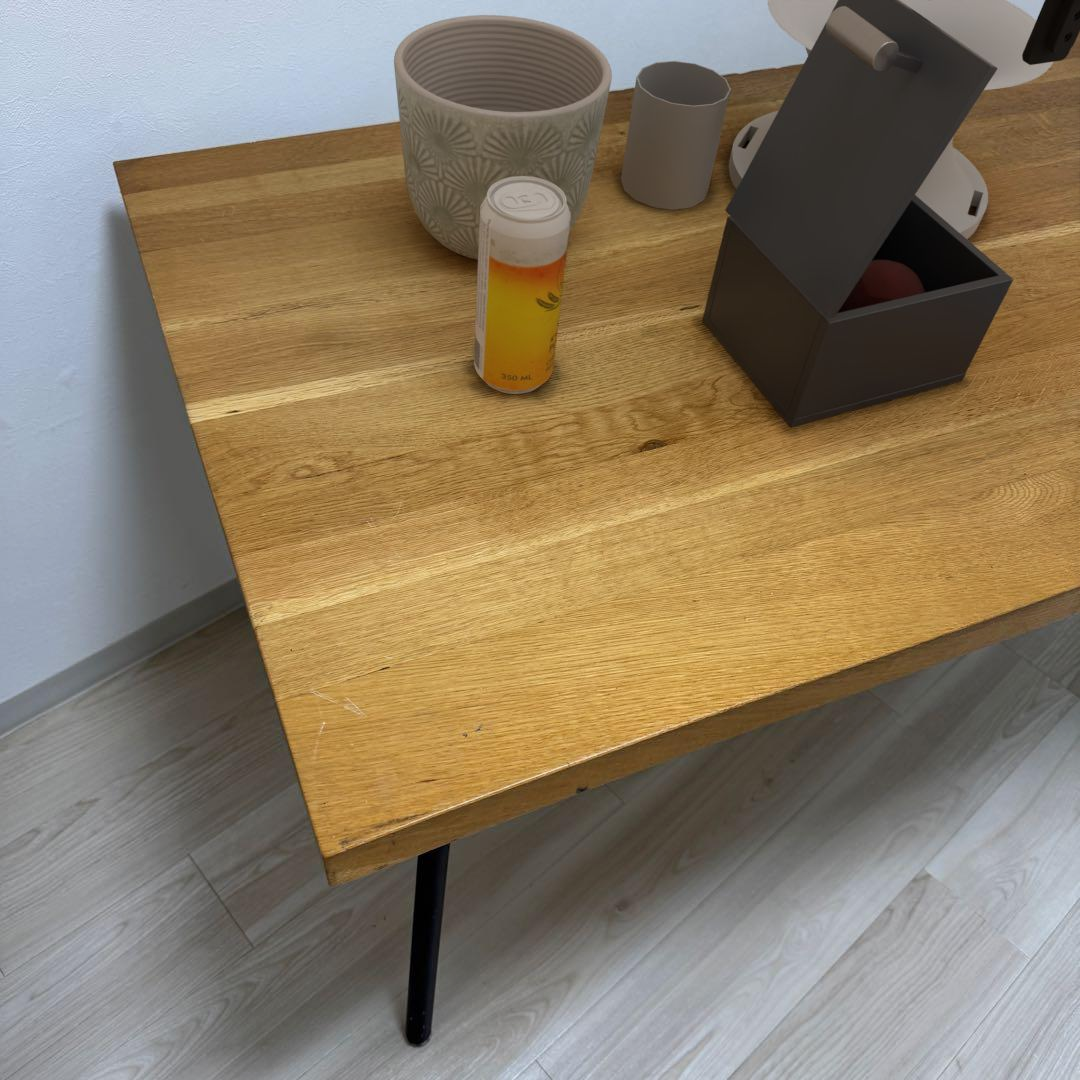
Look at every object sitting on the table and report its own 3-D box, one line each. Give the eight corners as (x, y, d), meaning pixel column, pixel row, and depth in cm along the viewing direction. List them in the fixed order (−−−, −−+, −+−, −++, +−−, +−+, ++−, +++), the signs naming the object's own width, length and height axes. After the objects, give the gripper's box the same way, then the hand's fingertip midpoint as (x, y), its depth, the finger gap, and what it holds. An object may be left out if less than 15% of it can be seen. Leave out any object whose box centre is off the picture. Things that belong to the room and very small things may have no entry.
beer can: (564, 390, 78) (586, 215, 67) (489, 405, 77) (499, 229, 65) (535, 341, 82) (552, 167, 70) (463, 355, 80) (468, 179, 69)
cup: (722, 182, 100) (745, 81, 92) (684, 219, 95) (705, 116, 87) (646, 153, 102) (663, 52, 95) (605, 188, 98) (619, 84, 90)
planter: (437, 166, 98) (437, -2, 86) (609, 205, 96) (633, 39, 84) (368, 262, 87) (359, 85, 75) (561, 309, 85) (581, 134, 73)
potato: (905, 314, 87) (936, 242, 82) (912, 377, 81) (945, 305, 76) (819, 299, 87) (844, 227, 82) (819, 361, 82) (846, 288, 76)
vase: (947, 131, 110) (1009, -24, 99) (1012, 268, 94) (1095, 102, 82) (717, 111, 109) (752, -48, 97) (743, 246, 93) (788, 75, 81)
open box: (863, 284, 91) (902, 183, 83) (962, 381, 83) (1014, 279, 75) (701, 320, 85) (727, 216, 78) (790, 427, 78) (828, 323, 70)
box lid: (861, -27, 67) (808, -48, 64) (998, 68, 59) (945, 49, 57) (732, 211, 78) (682, 202, 75) (834, 318, 70) (782, 312, 67)
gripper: (1316, -278, 49) (1133, 81, 61) (1060, -351, 59) (949, -30, 72) (1204, -277, 46) (1038, 96, 59) (958, -353, 56) (862, -20, 69)
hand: (990, 27), depth 65 cm, fingers open, 9 cm apart
